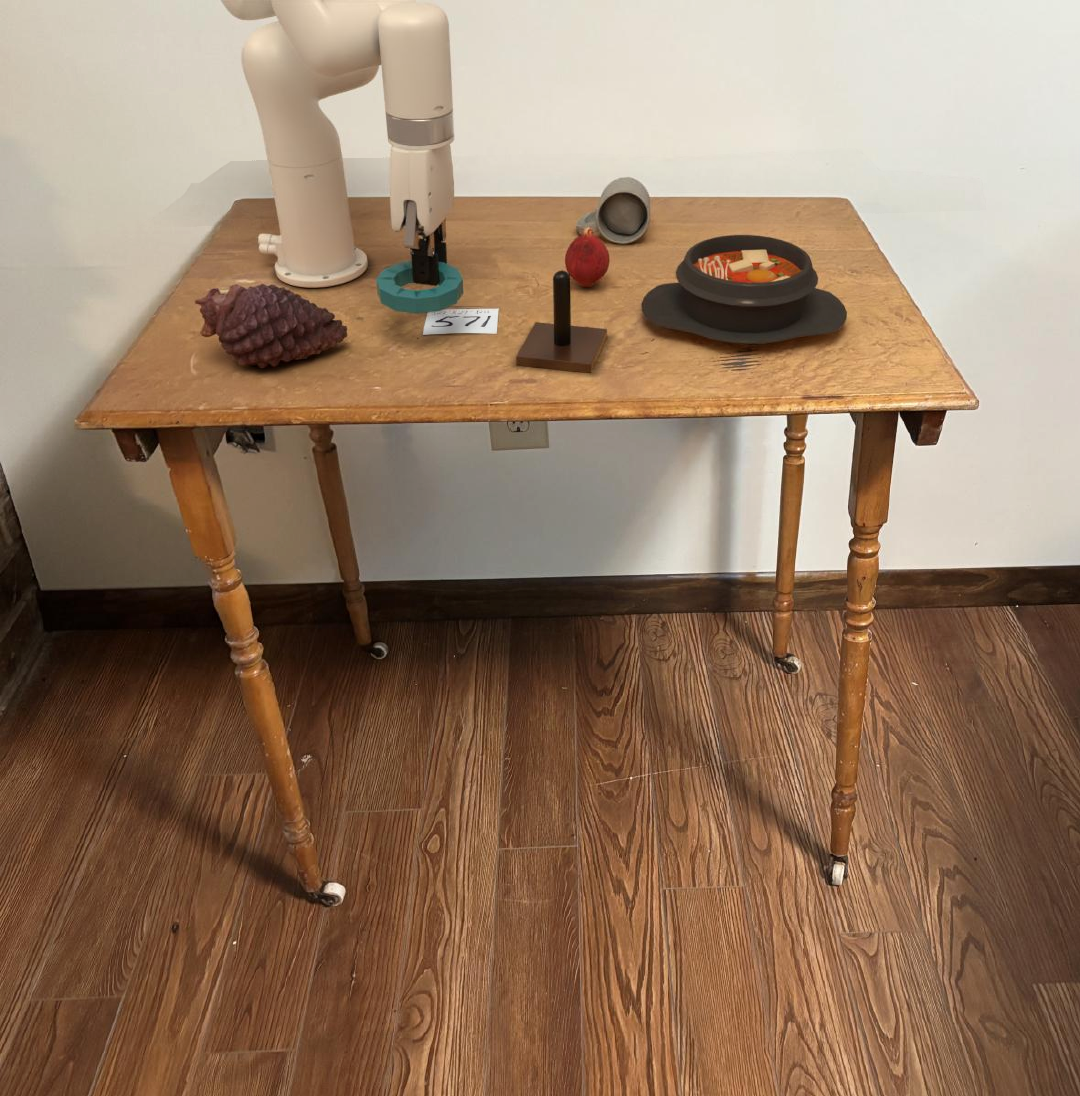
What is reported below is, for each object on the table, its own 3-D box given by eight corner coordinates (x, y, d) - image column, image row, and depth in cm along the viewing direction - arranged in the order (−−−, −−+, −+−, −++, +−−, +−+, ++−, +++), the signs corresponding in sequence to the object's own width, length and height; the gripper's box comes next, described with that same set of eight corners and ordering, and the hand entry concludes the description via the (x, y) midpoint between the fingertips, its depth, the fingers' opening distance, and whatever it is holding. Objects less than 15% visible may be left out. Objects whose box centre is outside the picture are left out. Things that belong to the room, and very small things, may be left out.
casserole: (635, 353, 131) (638, 287, 125) (645, 286, 145) (647, 224, 140) (850, 363, 128) (862, 296, 122) (838, 293, 142) (848, 231, 137)
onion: (605, 298, 143) (606, 239, 138) (561, 295, 144) (560, 236, 139) (611, 279, 147) (613, 221, 142) (569, 276, 148) (569, 218, 143)
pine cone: (344, 326, 138) (355, 279, 129) (339, 394, 134) (351, 351, 125) (197, 303, 133) (198, 253, 124) (188, 374, 129) (189, 327, 120)
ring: (366, 307, 129) (364, 292, 128) (395, 271, 137) (394, 256, 136) (447, 317, 128) (446, 302, 126) (472, 280, 135) (471, 265, 134)
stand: (516, 365, 129) (513, 284, 123) (535, 330, 136) (533, 252, 130) (591, 373, 127) (591, 291, 121) (606, 337, 134) (608, 258, 128)
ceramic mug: (650, 222, 162) (651, 170, 157) (649, 244, 156) (650, 191, 151) (578, 222, 163) (577, 171, 158) (574, 245, 156) (573, 191, 152)
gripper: (412, 101, 130) (423, 248, 142) (362, 147, 118) (378, 304, 130) (473, 106, 129) (478, 254, 140) (428, 154, 117) (438, 311, 128)
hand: (430, 277), depth 135 cm, fingers closed on ring, 2 cm apart
